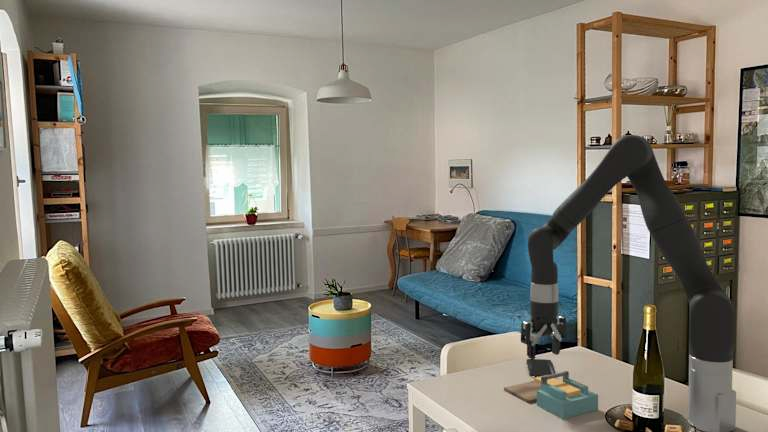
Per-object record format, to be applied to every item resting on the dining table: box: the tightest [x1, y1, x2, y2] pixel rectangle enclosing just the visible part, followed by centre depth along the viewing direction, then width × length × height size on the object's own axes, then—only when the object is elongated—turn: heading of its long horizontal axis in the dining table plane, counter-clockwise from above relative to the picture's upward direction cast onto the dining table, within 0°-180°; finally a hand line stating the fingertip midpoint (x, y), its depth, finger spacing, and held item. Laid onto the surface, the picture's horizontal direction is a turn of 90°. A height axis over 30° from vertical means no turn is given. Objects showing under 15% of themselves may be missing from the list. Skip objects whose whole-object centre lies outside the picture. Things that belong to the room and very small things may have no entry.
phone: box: [526, 358, 556, 377], centre depth 187 cm, size 8×1×15 cm
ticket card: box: [533, 375, 581, 398], centre depth 160 cm, size 13×5×1 cm, turn 26°
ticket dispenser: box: [536, 370, 599, 420], centre depth 156 cm, size 10×12×8 cm
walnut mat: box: [503, 380, 541, 404], centre depth 168 cm, size 11×14×1 cm
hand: (543, 356), depth 163 cm, fingers open, 8 cm apart
